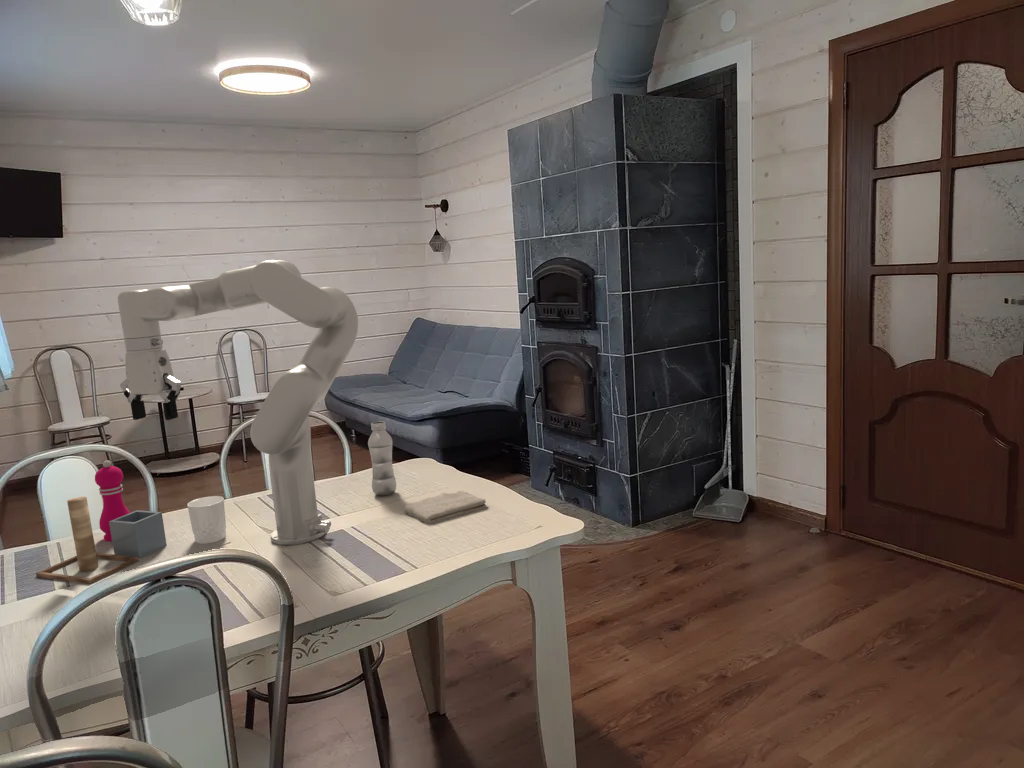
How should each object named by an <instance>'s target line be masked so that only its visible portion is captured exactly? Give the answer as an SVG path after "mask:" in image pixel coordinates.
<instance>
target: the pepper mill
mask: <svg viewBox="0 0 1024 768" xmlns="http://www.w3.org/2000/svg"><path fill="white" fill-rule="evenodd" d="M102 466H103V467H101V468H100V469H98V470H97V472H96V473H94V474H95V475H94V482H95V484H96V485H97V486H98V487H99V489H98V491H99V495H100V496H101V497H102V501H103V504H102V505H103V506H102V511H101V513H100V517H99V529H100V531H102V532H103V533H104V535H103V540H104V542H112V537H111V531H110V525H109V521H111V520H114V519H116V518H119V517H121V516H124V515H126V514H129V513H131V512H130V510H129V509H128V507H127V506H126V505H125V502H124V500H123V495H122V494H123V493H122V492H123V490H124V488H123V484H121V483H122V481H123V480H124V473H123V471H122V469H121V468H119V467H117V466H114V465H112V462H111V461H110V460H109V459H108V460H106V459H105V460H104V461H103V462H102Z"/></svg>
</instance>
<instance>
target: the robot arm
mask: <svg viewBox="0 0 1024 768" xmlns="http://www.w3.org/2000/svg"><path fill="white" fill-rule="evenodd" d="M117 303H118V311H119V317H120V321H121V327H122V328H121V329H122V334H123V341H124V345H125V351H126V352H125V355H124V356H125V357H124V362H125V364H124V366H125V376H126V379H124V380H123V381H122V382H121V383H120V384H119V387H120V388H121V390H122V392H123V395H124V396H125V398H126V399H127V402H128V403H129V404H130V408H131V415H132V420H134V421H138V420H141V419H145V418H146V417H147V414H146V407H145V402H144V400H142V399H143V396H154V395H155V396H156V395H159V396H160V397H161V399H162V400H163V403H162V406H163V413H164V420H165V421H170V420H174V419H177V418H179V413H178V409H177V408H178V406H177V401H178V399H179V395H180V394H181V386H182V382H181V381H180V380H178V379H176V378H175V376H174V372H173V367H172V363H171V360H170V357H169V354H168V352H167V350H166V349H165V348H164V346H163V344H164V340H163V338H162V335H161V327H160V322H169V321H170V322H171V321H177V320H180V319H188V318H189V319H190V318H194V317H198V316H203V315H207V314H208V315H209V314H212V313H215V312H216V313H217V312H221V311H226V310H230V311H233V310H234V311H235V310H238V309H243V308H247V307H251V306H256V305H262V304H265V303H267V304H268V305H270V306H272V307H274V308H275V309H277V310H279V311H280V312H282V313H284V314H285V315H287V316H289V317H291V318H292V319H294V320H296V321H297V322H300V323H301V324H303V325H305V326H307V327H310V328H313V329H314V328H315V329H318V331H317V332H316V334H315V336H314V337H313V338H312V340H311V341H310V343H309V345H308V347H307V349H306V351H305V352H304V354H303V355H302V357H301V359H300V360H299V362H298V363H297V365H295V366H294V367H293V368H291V369H289V370H287V371H285V372H284V373H282V374H281V376H279V378H278V379H276V381H275V383H274V384H273V385H272V387H271V390H270V391H269V392H268V394H267V396H266V398H265V399H264V401H263V403H262V404H261V407H260V408H259V410H258V412H257V413H256V415H255V417H254V419H253V421H252V423H251V425H250V431H249V433H250V434H249V435H250V440H251V443H252V444H253V446H254V447H255V448H256V450H258V451H259V452H261V453H264V454H266V455H268V467H269V477H270V486H271V492H272V493H271V494H272V500H273V501H272V502H273V509H274V517H275V523H276V524H275V526H276V529H275V530H274V531H272V532H271V534H270V540H271V542H272V543H274V544H277V545H284V546H288V545H289V546H290V545H300V544H305V543H309V542H312V541H315V540H317V539H319V538H321V537H323V536H324V535H325V534H326V533H329V531H330V529H331V526H332V522H331V521H329V520H323V515H322V513H319V512H318V506H317V505H318V504H317V496H316V487H315V486H316V485H315V479H314V478H315V477H314V471H313V459H312V451H311V450H312V449H311V448H312V447H311V444H312V443H311V439H312V438H311V434H312V433H311V427H312V426H311V420H310V417H309V414H310V413H311V411H312V410H313V408H314V407H315V406H317V405H319V403H321V402H322V401H323V400H324V399H325V397H326V396H327V394H328V392H329V390H330V388H331V386H332V385H333V382H334V381H335V379H336V377H337V376H338V373H339V372H340V370H341V369H342V367H343V364H344V363H345V360H346V359H347V357H348V356H349V353H350V351H351V350H352V349H353V346H354V344H355V341H356V339H357V335H358V330H359V317H358V313H357V309H356V307H355V305H354V303H353V301H352V299H351V298H350V297H349V296H348V295H347V293H345V292H344V291H342V290H341V289H339V288H336V287H333V286H323V287H319V286H316V285H315V284H313V283H312V282H311V281H310V282H309V281H308V280H306V279H305V278H302V275H301V271H300V270H299V269H298V267H297V266H296V265H295V264H294V263H292V262H290V261H287V260H283V259H277V260H275V259H271V260H270V259H268V260H264V261H261V262H259V263H257V264H256V265H251V266H247V267H242V268H237V269H232V270H227V271H224V272H222V273H221V274H220V275H219V276H217V277H215V278H211V279H208V280H203V281H199V282H195V283H189V284H184V285H173V286H172V285H171V286H170V285H169V286H161V287H155V288H152V289H135V290H124V291H121V292H119V294H118V295H117Z"/></svg>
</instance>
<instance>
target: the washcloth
mask: <svg viewBox="0 0 1024 768" xmlns="http://www.w3.org/2000/svg"><path fill="white" fill-rule="evenodd" d="M486 502H487V501H486V498H483V497H478V496H476V495H473V494H472V493H470V492H467V491H464V490H459V491H455V492H451V493H447V492H444V493H440V494H439V495H436V496H432V497H427V498H424V499H421V500H420V499H419V500H418V501H413V502H410V503H408V504H407V505H406V506H404V509H403V511H404V512H405V513H406V514H407V515H409V516H411V517H412V518H413V517H415V518H416V519H417V520H419V521H421V522H423V523H425V524H433V523H437V522H440V521H443V520H448V519H451V518H455V517H458V516H460V515H464V514H467V513H471V512H475V511H477V510H478V511H479V510H481V509H482V510H483V509H486V508H487V505H486Z"/></svg>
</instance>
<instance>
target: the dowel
mask: <svg viewBox="0 0 1024 768" xmlns="http://www.w3.org/2000/svg"><path fill="white" fill-rule="evenodd" d="M66 502H67V507H68V514H69V520H70V524H71V531H72V536H73V543H74V547H75V555H76V556H77V560H78V561H77V565H78V570H79V573H89V572H92V571H95V570H97V569H98V568H99V562H98V558H97V555H96V553H97V549H96V544H95V539H94V533H93V526H92V521H91V517H90V515H91V514H90V509H89V503H88V497H87V496H76V497H73V498H71V499H68V500H67V501H66Z"/></svg>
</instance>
